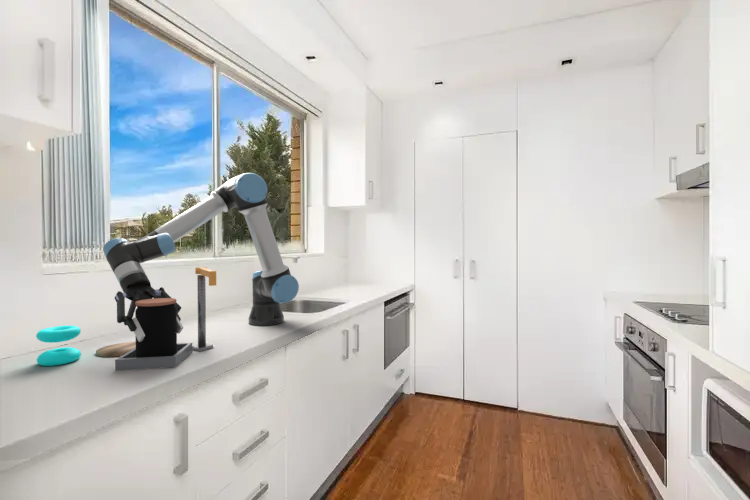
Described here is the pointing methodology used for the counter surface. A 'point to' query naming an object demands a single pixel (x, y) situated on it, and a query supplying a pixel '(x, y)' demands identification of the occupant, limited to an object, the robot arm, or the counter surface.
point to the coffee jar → (157, 327)
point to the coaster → (115, 349)
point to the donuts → (58, 354)
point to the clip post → (201, 316)
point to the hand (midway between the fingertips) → (162, 334)
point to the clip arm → (207, 274)
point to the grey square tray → (153, 359)
